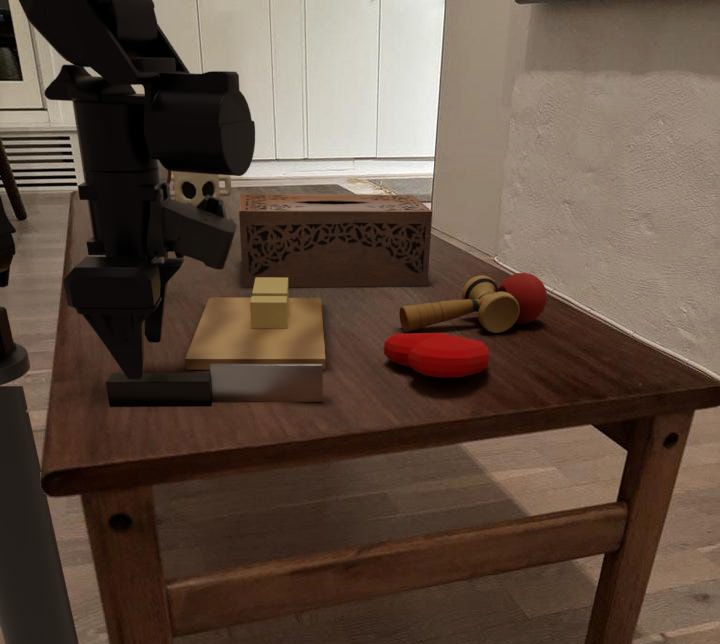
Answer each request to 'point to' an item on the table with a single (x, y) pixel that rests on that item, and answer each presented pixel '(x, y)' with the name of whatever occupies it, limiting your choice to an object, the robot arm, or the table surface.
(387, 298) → the table surface
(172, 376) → the knife
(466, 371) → the heart
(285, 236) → the tissue box cover
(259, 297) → the butter slice
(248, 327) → the board
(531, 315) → the kendama
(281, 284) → the butter block
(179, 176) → the character mug
